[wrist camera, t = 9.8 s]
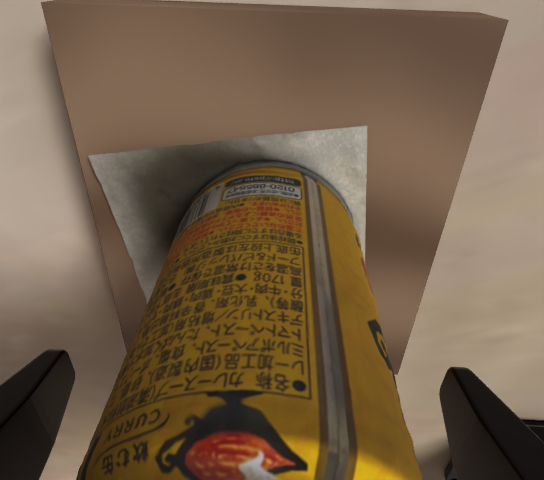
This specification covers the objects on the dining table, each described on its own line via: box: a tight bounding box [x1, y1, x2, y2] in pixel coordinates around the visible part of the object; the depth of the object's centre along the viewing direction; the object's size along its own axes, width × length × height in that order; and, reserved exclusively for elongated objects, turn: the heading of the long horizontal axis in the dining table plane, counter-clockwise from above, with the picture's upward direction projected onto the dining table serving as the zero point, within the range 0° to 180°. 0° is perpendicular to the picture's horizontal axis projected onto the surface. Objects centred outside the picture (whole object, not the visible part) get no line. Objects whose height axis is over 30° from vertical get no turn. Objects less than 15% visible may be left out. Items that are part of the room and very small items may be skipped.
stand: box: [41, 0, 508, 374], centre depth 15 cm, size 14×12×2 cm
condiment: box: [76, 126, 422, 480], centre depth 9 cm, size 7×8×12 cm
